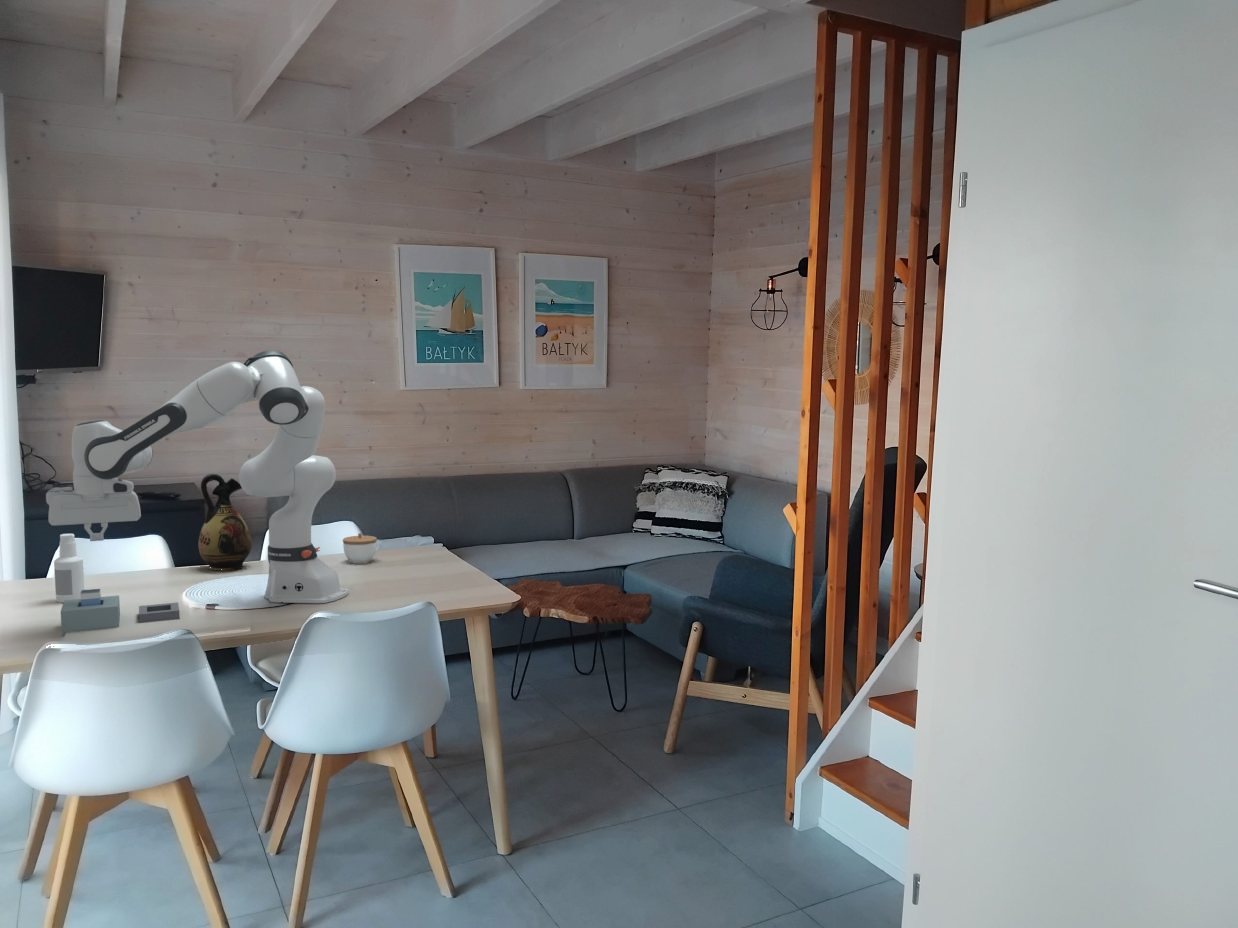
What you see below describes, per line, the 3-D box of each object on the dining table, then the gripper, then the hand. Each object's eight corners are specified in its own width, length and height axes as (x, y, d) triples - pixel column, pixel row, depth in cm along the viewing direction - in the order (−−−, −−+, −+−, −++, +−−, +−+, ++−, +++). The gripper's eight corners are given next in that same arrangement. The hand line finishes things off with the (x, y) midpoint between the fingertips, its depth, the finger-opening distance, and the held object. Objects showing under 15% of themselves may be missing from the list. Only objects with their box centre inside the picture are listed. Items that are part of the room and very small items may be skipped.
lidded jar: (345, 558, 317) (344, 531, 316) (378, 558, 319) (377, 530, 318) (341, 565, 307) (341, 536, 306) (376, 564, 309) (375, 535, 308)
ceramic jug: (248, 561, 312) (245, 470, 309) (255, 570, 298) (252, 475, 295) (191, 566, 304) (188, 472, 301) (195, 575, 290) (192, 477, 287)
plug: (102, 624, 236) (100, 588, 235) (101, 628, 232) (99, 592, 231) (83, 626, 234) (81, 590, 233) (82, 630, 231) (80, 593, 230)
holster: (178, 613, 246) (178, 602, 246) (179, 622, 238) (179, 610, 238) (139, 617, 242) (139, 605, 242) (139, 626, 234) (138, 614, 234)
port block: (120, 618, 241) (119, 595, 241) (119, 630, 231) (118, 606, 230) (65, 623, 236) (64, 600, 235) (61, 636, 225) (60, 611, 225)
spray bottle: (58, 598, 262) (55, 533, 260) (86, 596, 264) (83, 531, 262) (53, 603, 255) (50, 537, 253) (82, 601, 258) (79, 536, 256)
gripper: (44, 489, 230) (47, 546, 232) (139, 485, 239) (141, 539, 241) (46, 486, 236) (50, 541, 237) (139, 482, 245) (142, 535, 246)
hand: (96, 540), depth 239 cm, fingers closed
